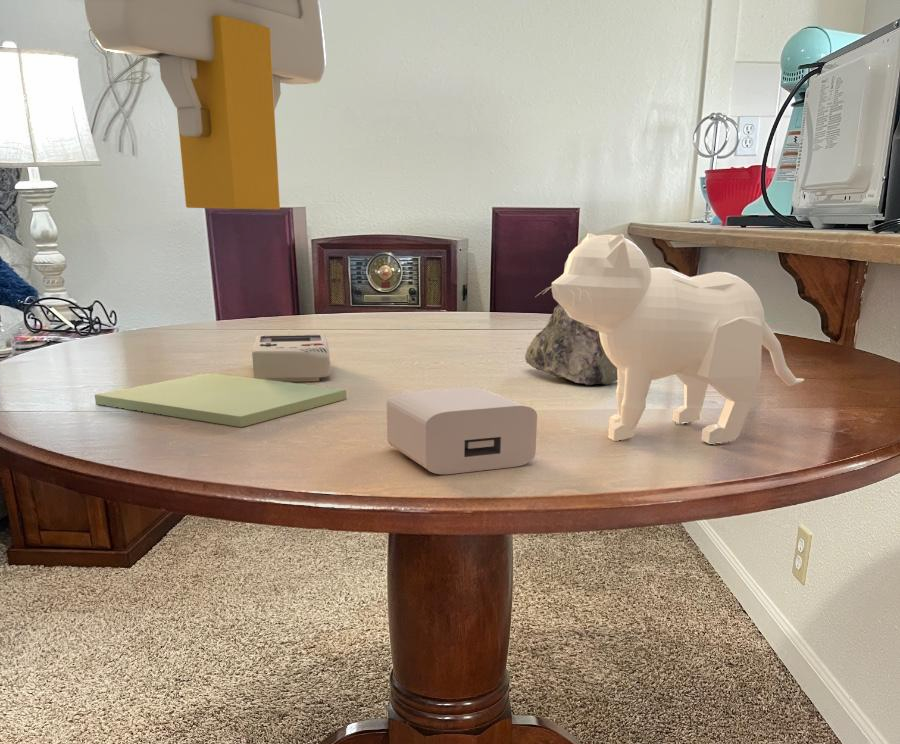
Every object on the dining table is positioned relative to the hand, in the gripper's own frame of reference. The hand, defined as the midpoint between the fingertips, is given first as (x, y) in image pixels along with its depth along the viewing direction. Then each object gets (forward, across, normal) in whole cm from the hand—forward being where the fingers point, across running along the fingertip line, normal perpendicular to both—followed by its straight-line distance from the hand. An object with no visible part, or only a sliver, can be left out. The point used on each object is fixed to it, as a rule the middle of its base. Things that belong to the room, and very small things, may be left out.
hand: (227, 140), depth 66 cm
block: (+5, 0, 0) cm, 5 cm away
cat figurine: (+23, -24, +29) cm, 44 cm away
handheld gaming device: (+23, -31, -22) cm, 44 cm away
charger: (+23, -8, +14) cm, 28 cm away
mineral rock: (+23, -46, +9) cm, 52 cm away
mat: (+23, -13, -16) cm, 31 cm away
